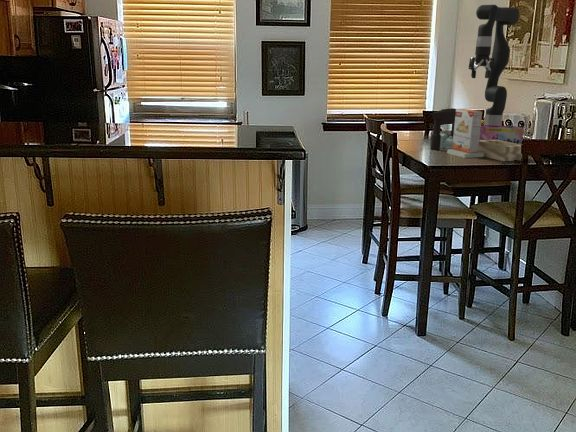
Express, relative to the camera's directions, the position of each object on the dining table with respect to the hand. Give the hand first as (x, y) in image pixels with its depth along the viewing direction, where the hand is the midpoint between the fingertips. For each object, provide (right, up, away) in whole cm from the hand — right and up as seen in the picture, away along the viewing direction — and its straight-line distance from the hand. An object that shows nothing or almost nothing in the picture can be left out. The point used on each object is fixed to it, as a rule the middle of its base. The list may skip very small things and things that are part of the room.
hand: (480, 78), depth 298 cm
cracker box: (-10, -39, -5) cm, 41 cm away
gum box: (+12, -38, +9) cm, 40 cm away
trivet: (-9, -41, -5) cm, 42 cm away
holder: (+7, -42, -8) cm, 44 cm away
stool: (-14, -34, +18) cm, 41 cm away
